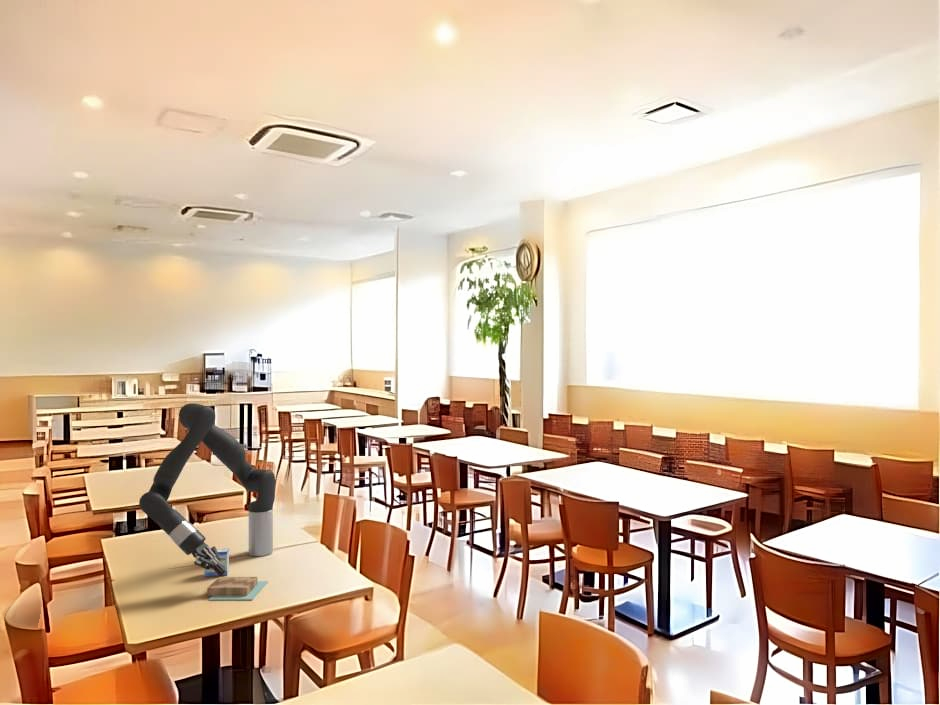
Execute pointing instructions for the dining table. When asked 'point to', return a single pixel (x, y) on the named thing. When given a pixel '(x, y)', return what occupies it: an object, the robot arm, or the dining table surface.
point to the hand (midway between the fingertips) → (223, 573)
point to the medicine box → (223, 561)
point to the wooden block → (232, 586)
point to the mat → (249, 597)
